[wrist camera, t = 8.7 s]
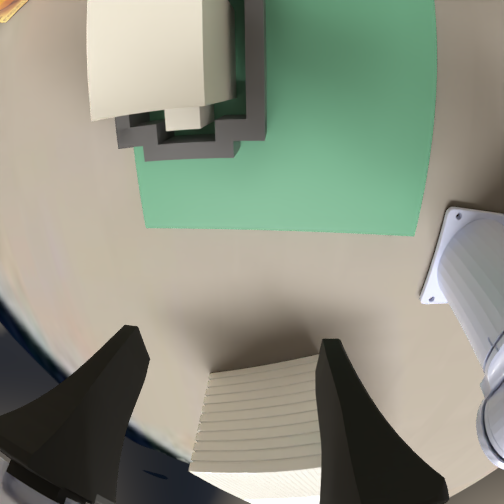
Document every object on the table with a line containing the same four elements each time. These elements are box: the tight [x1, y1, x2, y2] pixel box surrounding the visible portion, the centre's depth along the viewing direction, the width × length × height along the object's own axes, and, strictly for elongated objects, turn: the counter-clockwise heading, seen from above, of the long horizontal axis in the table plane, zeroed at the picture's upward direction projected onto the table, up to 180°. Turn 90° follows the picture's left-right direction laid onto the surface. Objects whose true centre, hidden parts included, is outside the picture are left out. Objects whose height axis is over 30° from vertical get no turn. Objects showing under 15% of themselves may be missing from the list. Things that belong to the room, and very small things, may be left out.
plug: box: [87, 0, 237, 131], centre depth 10 cm, size 4×8×7 cm, turn 1°
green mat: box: [134, 0, 437, 236], centre depth 13 cm, size 17×20×1 cm
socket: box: [115, 0, 267, 162], centre depth 12 cm, size 7×9×2 cm
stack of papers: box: [189, 354, 321, 504], centre depth 29 cm, size 32×11×11 cm, turn 21°
